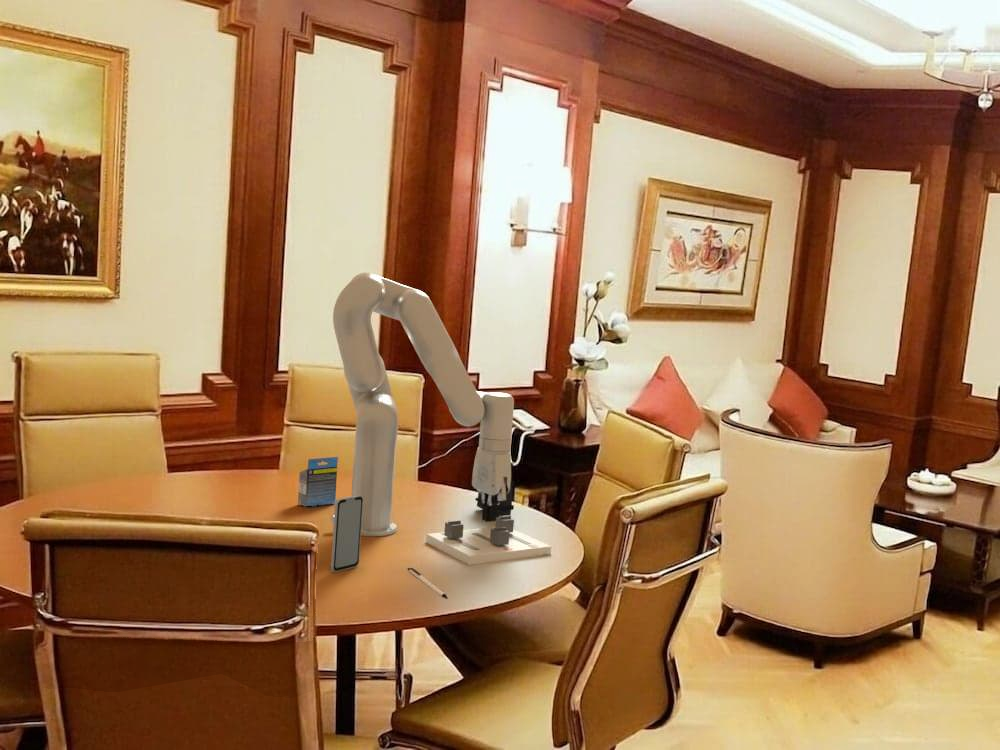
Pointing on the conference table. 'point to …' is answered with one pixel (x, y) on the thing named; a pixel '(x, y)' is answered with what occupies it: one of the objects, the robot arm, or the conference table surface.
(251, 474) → the conference table surface
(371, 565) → the conference table surface
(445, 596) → the pen
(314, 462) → the label tape cartridge
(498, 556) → the switch panel
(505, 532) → the tab middle
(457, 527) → the tab left
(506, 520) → the tab right
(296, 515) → the conference table surface
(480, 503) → the black upright block
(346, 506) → the smartphone
